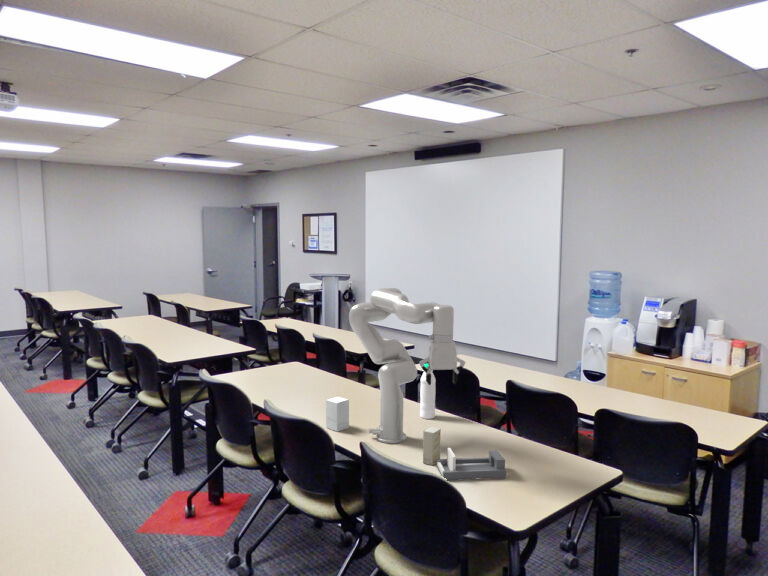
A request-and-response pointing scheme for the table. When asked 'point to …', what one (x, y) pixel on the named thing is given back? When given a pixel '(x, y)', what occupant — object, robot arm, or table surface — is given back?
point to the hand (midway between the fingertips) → (441, 383)
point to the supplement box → (337, 413)
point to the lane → (475, 467)
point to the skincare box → (431, 445)
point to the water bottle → (427, 396)
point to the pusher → (452, 464)
